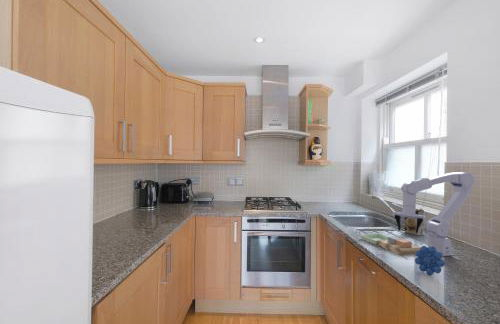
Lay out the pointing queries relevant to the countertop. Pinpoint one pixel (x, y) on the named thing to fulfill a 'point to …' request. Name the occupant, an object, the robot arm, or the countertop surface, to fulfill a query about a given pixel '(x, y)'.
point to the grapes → (429, 260)
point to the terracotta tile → (404, 243)
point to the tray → (373, 238)
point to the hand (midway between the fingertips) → (407, 231)
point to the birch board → (398, 247)
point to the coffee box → (414, 224)
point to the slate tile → (393, 239)
